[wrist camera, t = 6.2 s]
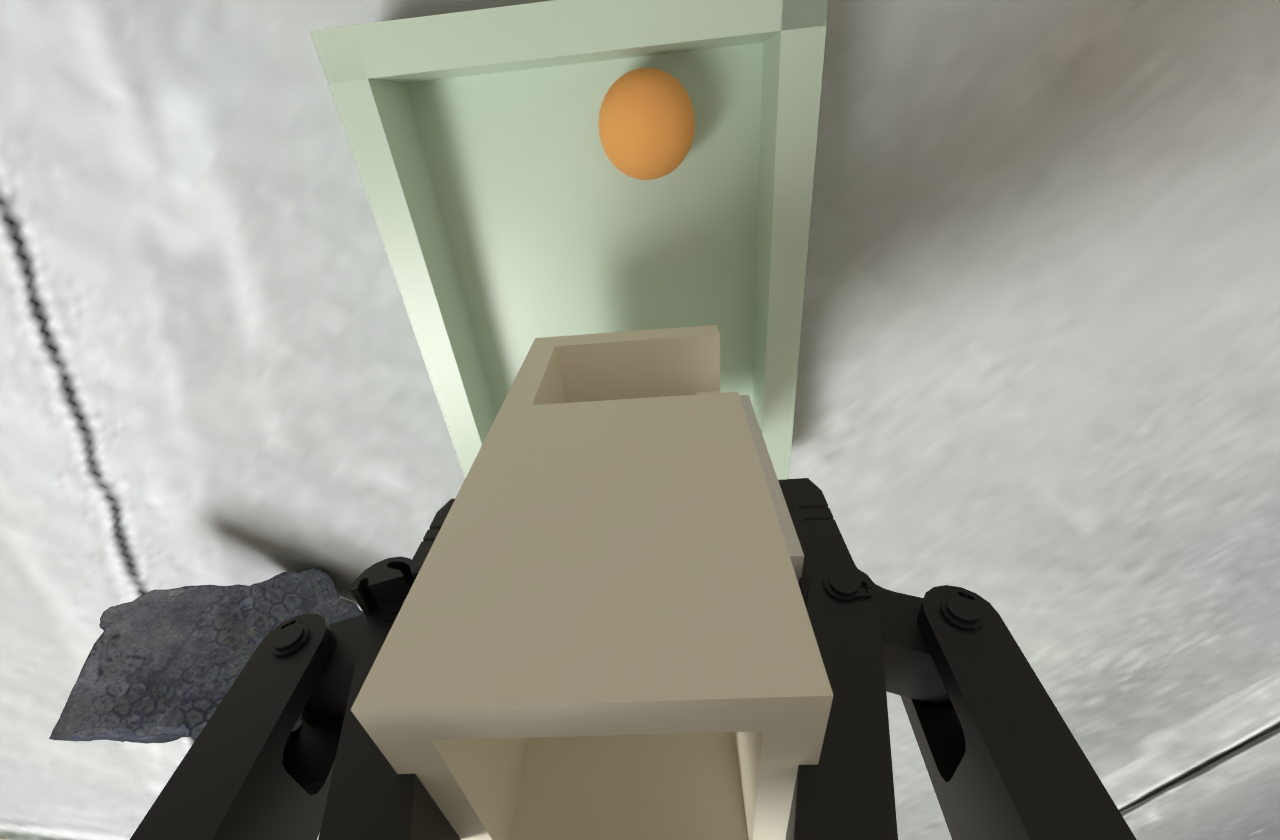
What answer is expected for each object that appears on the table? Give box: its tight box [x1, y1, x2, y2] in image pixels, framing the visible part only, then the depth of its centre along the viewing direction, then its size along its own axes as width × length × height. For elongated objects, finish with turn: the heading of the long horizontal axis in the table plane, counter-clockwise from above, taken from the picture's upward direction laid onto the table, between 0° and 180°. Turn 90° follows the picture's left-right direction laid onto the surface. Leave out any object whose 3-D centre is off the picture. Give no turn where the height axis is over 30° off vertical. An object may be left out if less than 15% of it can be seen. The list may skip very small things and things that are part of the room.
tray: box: [309, 0, 829, 480], centre depth 19 cm, size 18×14×4 cm
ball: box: [599, 68, 695, 180], centre depth 15 cm, size 3×3×3 cm
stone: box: [49, 568, 364, 743], centre depth 27 cm, size 14×6×10 cm, turn 76°
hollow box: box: [351, 325, 833, 840], centre depth 13 cm, size 6×6×12 cm
